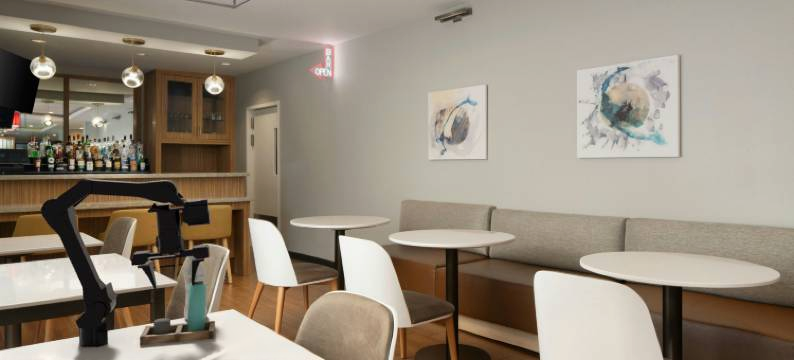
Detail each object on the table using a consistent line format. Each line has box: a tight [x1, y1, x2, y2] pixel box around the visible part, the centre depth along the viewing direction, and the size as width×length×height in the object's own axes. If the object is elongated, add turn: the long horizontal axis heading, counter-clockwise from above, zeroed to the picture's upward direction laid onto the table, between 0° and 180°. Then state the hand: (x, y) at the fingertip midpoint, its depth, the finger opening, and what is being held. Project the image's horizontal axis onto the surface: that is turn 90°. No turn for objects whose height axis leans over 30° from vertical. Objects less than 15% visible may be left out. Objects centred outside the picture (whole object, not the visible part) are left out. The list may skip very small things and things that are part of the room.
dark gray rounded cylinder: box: [153, 317, 171, 335], centre depth 146 cm, size 4×4×4 cm
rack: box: [139, 320, 216, 346], centre depth 148 cm, size 18×9×3 cm, turn 106°
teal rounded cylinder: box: [186, 281, 207, 332], centre depth 149 cm, size 4×4×14 cm
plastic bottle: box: [182, 256, 208, 321], centre depth 164 cm, size 6×7×20 cm
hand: (174, 287), depth 147 cm, fingers open, 9 cm apart
